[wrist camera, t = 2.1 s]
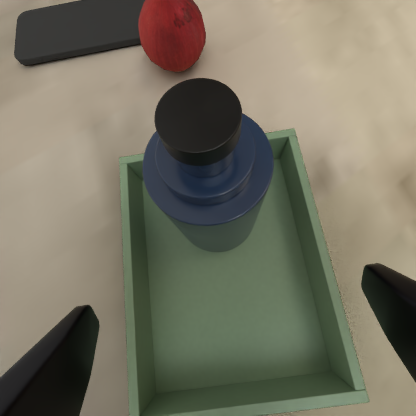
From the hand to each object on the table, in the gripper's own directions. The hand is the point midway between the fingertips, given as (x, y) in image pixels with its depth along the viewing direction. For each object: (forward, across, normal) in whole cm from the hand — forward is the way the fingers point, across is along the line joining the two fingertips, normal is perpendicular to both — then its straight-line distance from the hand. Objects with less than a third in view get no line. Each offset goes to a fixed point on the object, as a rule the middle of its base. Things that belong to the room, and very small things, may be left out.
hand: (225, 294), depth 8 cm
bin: (+10, 0, +7) cm, 12 cm away
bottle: (+12, 0, +4) cm, 13 cm away
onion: (+24, +2, -7) cm, 25 cm away
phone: (+30, +11, -12) cm, 34 cm away
